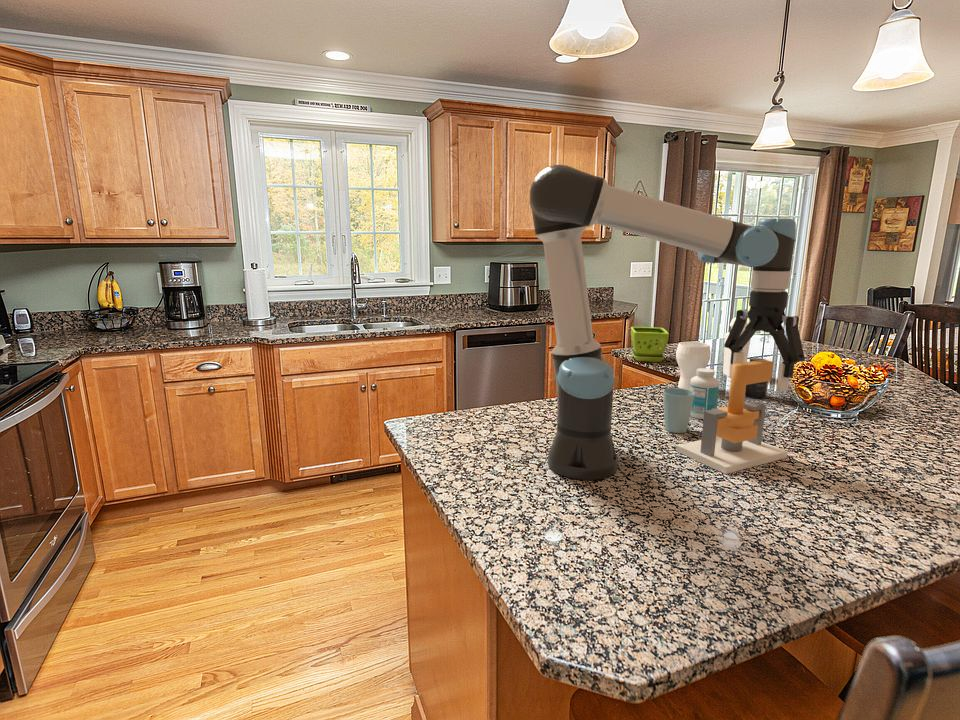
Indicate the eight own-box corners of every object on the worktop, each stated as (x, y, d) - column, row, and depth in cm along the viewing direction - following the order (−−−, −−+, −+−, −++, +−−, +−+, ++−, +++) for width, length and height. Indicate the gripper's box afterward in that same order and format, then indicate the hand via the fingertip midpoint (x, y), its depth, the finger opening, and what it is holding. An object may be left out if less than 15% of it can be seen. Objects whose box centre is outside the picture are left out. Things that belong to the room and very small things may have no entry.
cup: (687, 425, 144) (690, 388, 141) (694, 435, 136) (698, 396, 134) (658, 424, 145) (660, 387, 142) (663, 434, 137) (666, 395, 135)
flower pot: (631, 362, 217) (633, 331, 214) (628, 355, 231) (630, 326, 228) (667, 363, 215) (669, 332, 212) (661, 356, 228) (664, 327, 225)
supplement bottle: (767, 394, 171) (771, 358, 169) (765, 400, 166) (769, 362, 163) (743, 391, 175) (747, 356, 172) (741, 396, 169) (745, 360, 167)
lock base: (725, 474, 114) (730, 423, 111) (676, 451, 126) (679, 405, 124) (787, 457, 122) (793, 410, 120) (735, 437, 135) (739, 394, 132)
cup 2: (678, 382, 187) (682, 340, 184) (710, 386, 181) (714, 343, 178) (669, 388, 179) (672, 345, 175) (702, 394, 173) (706, 348, 169)
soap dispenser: (746, 377, 192) (753, 317, 188) (728, 377, 193) (734, 317, 188) (738, 373, 199) (744, 315, 194) (720, 373, 199) (726, 315, 194)
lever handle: (775, 434, 124) (784, 364, 120) (726, 446, 117) (734, 372, 113) (745, 424, 131) (753, 357, 127) (697, 434, 124) (704, 364, 120)
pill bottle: (711, 412, 154) (715, 367, 152) (719, 420, 147) (724, 373, 144) (684, 411, 155) (688, 366, 152) (691, 419, 148) (696, 372, 145)
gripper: (833, 293, 110) (818, 395, 115) (735, 285, 131) (726, 371, 136) (810, 295, 107) (796, 400, 112) (713, 286, 128) (705, 374, 132)
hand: (758, 384), depth 124 cm, fingers open, 11 cm apart
